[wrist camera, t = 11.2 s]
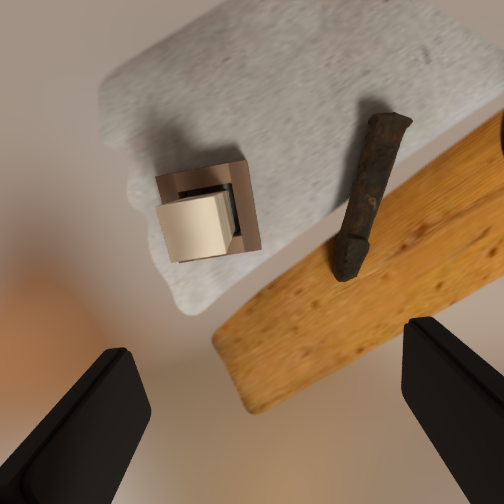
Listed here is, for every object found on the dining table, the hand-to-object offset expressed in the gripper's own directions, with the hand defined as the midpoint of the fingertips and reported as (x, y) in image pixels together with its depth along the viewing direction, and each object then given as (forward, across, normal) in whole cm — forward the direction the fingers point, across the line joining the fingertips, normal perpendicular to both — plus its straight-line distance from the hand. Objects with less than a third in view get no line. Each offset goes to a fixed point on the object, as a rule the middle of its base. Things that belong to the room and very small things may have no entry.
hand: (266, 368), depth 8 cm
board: (+23, +6, -3) cm, 24 cm away
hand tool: (+24, -12, -1) cm, 27 cm away
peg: (+23, +6, -3) cm, 24 cm away
